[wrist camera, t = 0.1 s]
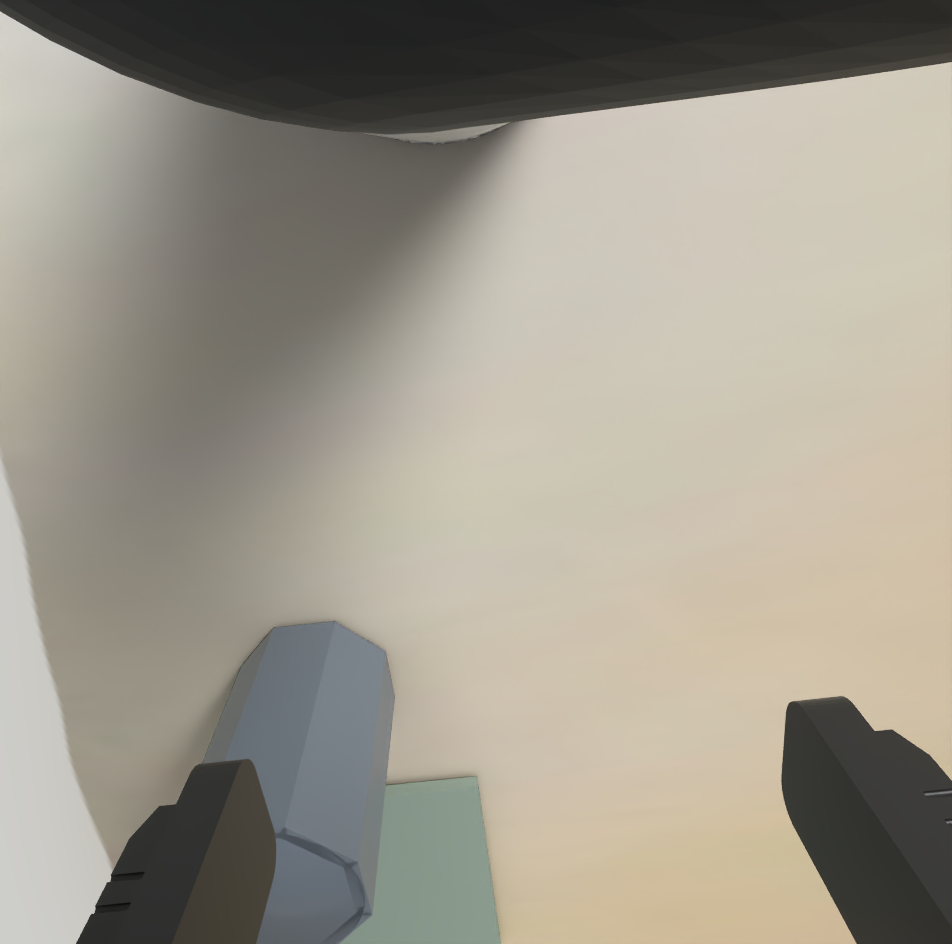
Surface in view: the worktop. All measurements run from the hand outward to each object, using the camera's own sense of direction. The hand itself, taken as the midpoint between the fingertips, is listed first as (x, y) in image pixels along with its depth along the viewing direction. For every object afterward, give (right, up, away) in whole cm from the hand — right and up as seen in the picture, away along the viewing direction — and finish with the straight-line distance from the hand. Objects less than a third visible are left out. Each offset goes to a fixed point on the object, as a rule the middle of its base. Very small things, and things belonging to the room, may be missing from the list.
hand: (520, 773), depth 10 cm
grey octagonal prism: (-8, -5, +21) cm, 23 cm away
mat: (-6, -18, +27) cm, 33 cm away
